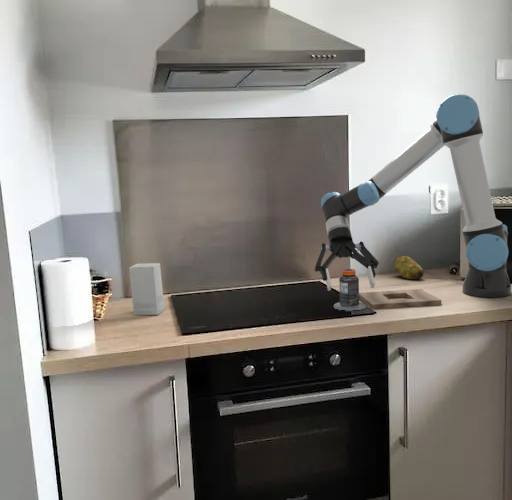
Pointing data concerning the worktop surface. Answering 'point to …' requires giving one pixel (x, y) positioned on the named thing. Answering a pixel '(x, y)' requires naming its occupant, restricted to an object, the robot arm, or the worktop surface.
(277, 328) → the worktop surface
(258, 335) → the worktop surface
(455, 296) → the worktop surface
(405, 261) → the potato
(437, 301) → the pocket board
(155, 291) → the skincare box
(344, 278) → the pill bottle
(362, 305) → the coaster
